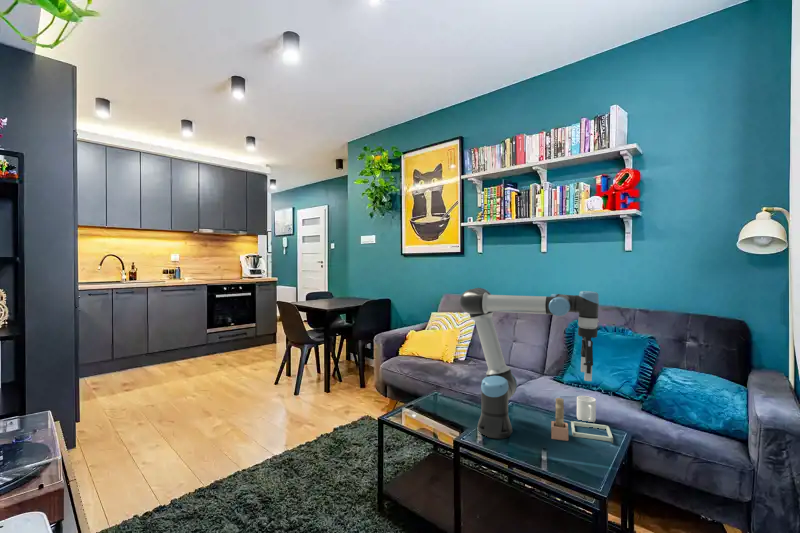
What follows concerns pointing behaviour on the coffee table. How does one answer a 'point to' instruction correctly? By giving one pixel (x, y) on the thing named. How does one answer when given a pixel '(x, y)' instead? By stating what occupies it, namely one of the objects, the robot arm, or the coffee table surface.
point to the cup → (586, 408)
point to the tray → (591, 436)
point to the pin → (559, 412)
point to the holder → (559, 431)
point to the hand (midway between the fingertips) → (585, 376)
